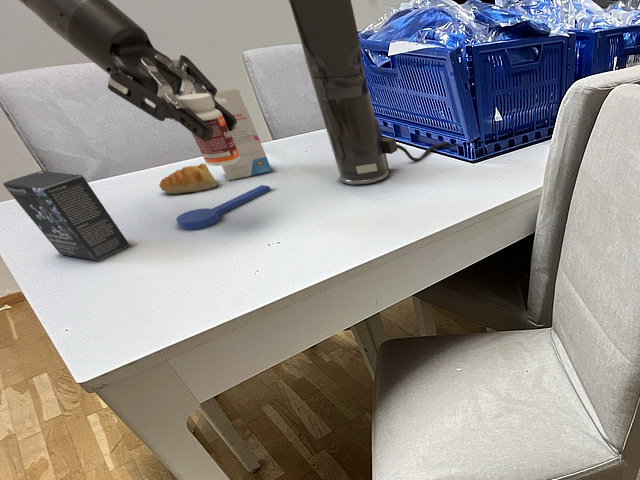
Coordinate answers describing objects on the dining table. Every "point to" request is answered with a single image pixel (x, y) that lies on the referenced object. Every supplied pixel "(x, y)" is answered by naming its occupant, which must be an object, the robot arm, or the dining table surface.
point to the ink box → (243, 139)
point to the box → (68, 214)
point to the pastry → (188, 180)
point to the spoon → (216, 210)
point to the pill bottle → (221, 142)
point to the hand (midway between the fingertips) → (222, 130)
